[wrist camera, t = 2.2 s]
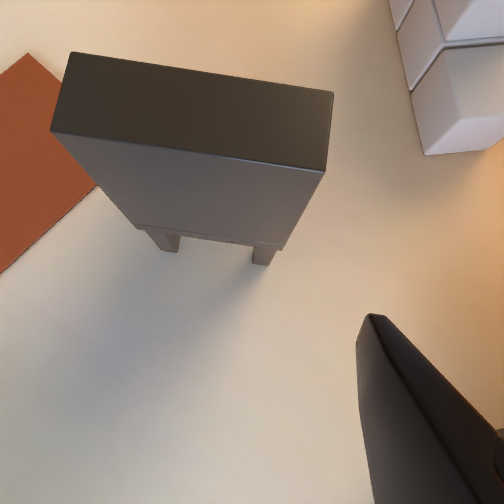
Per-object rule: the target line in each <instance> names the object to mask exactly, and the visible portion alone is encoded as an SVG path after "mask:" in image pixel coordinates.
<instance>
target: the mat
mask: <svg viewBox="0 0 504 504" xmlns="http://www.w3.org/2000/svg"><path fill="white" fill-rule="evenodd" d="M61 85H62V83H61V82H60V81H59V80H57V79H56V78H55V77H54V76H53V75H52V74H51V73H50V72H49V71H48V70H46V69H45V68H44V67H43V66H42V65H41V64H40V63H39V62H38V61H37V60H35V59H34V58H33V57H32V56H31V55H30V54H29V53H27V54H26V55H25V56H23V57H22V58H21V59H20V60H18V61H17V62H16V63H15V64H13V65H12V66H11V67H10V68H8V69H7V70H6V71H5V72H3V73H2V74H1V75H0V274H1V273H2V272H3V271H4V270H5V269H6V268H7V267H8V266H9V265H11V264H12V263H13V262H14V261H15V260H16V259H17V258H18V257H19V256H20V255H21V254H23V253H24V252H25V251H26V250H27V249H28V248H29V247H30V246H31V245H32V244H33V243H35V242H36V241H37V240H38V239H39V238H40V237H41V236H42V235H43V234H44V233H45V232H47V231H48V230H49V229H50V228H51V227H52V226H53V225H54V224H55V223H56V222H57V221H58V220H60V219H61V218H62V217H63V216H64V215H65V214H66V213H67V212H68V211H69V210H70V209H72V208H73V207H74V206H75V205H76V204H77V203H78V202H79V201H80V200H81V199H82V198H84V197H85V196H86V195H87V194H88V193H89V192H90V191H91V190H92V189H93V188H94V187H96V186H97V184H96V183H95V182H94V180H93V179H92V178H91V177H90V176H89V175H88V174H87V173H86V171H85V170H84V169H83V168H82V167H81V166H80V165H79V164H78V162H77V161H76V160H75V159H74V158H73V157H72V156H71V155H70V153H69V152H68V151H67V150H66V149H65V148H64V147H63V146H62V144H61V143H60V142H59V141H58V140H57V139H56V138H55V137H54V135H53V134H52V133H51V132H50V125H51V121H52V118H53V114H54V110H55V107H56V103H57V100H58V96H59V92H60V89H61Z"/></svg>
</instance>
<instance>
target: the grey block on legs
mask: <svg viewBox="0 0 504 504" xmlns="http://www.w3.org/2000/svg"><path fill="white" fill-rule="evenodd" d="M333 100H334V93H333V92H331V91H325V90H318V89H312V88H305V87H299V86H292V85H286V84H279V83H273V82H267V81H260V80H254V79H247V78H241V77H234V76H228V75H221V74H215V73H208V72H202V71H196V70H189V69H183V68H176V67H170V66H163V65H157V64H150V63H144V62H137V61H131V60H125V59H118V58H112V57H105V56H99V55H92V54H86V53H79V52H71V53H70V56H69V59H68V63H67V67H66V70H65V74H64V78H63V81H62V85H61V89H60V92H59V96H58V100H57V103H56V107H55V110H54V114H53V118H52V121H51V125H50V132H51V133H52V134H53V135H54V137H55V138H56V139H57V140H58V141H59V142H60V143H61V144H62V146H63V147H64V148H65V149H66V150H67V151H68V152H69V153H70V155H71V156H72V157H73V158H74V159H75V160H76V161H77V162H78V164H79V165H80V166H81V167H82V168H83V169H84V170H85V171H86V173H87V174H88V175H89V176H90V177H91V178H92V179H93V180H94V182H95V183H96V184H97V185H98V186H99V187H100V188H101V189H102V191H103V192H104V193H105V194H106V195H107V196H108V197H109V198H110V200H111V201H112V202H113V203H114V204H115V205H116V206H117V207H118V209H119V210H120V211H121V212H122V213H123V214H124V215H125V216H126V218H127V219H128V220H129V221H130V222H131V223H132V224H133V225H134V227H135V228H136V229H139V230H145V231H146V232H147V234H148V235H149V236H150V237H151V239H152V240H153V241H154V242H155V243H156V245H157V246H158V247H159V248H160V249H161V250H163V251H170V252H178V247H179V242H180V236H186V237H193V238H199V239H206V240H213V241H220V242H226V243H233V244H240V245H246V246H253V247H255V248H254V255H253V261H252V262H253V264H258V265H264V266H269V265H270V263H271V261H272V259H273V257H274V255H275V252H276V250H280V251H281V250H282V249H283V247H284V246H285V244H286V242H287V240H288V238H289V237H290V235H291V233H292V231H293V229H294V228H295V226H296V224H297V222H298V220H299V219H300V217H301V215H302V213H303V211H304V210H305V208H306V206H307V204H308V202H309V200H310V199H311V197H312V195H313V193H314V191H315V190H316V188H317V186H318V184H319V182H320V181H321V179H322V177H323V175H324V173H325V172H326V163H327V154H328V145H329V136H330V127H331V118H332V109H333Z"/></svg>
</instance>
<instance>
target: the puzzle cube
mask: <svg viewBox="0 0 504 504" xmlns="http://www.w3.org/2000/svg"><path fill="white" fill-rule="evenodd" d="M389 4H390V9H391V13H392V17H393V22H394V26H395V29H396V31H398V33H397V39H398V44H399V48H400V52H401V57H402V61H403V66H404V70H405V74H406V79H407V83H408V88H409V90H410V91H413V93H412V94H411V101H412V105H413V109H414V114H415V118H416V123H417V127H418V131H419V136H420V140H421V144H422V149H423V153H424V155H437V154H447V153H457V152H467V151H477V150H487V149H489V148H491V147H492V146H493V145H495V144H496V143H497V142H499V141H500V140H501V139H503V138H504V0H389Z"/></svg>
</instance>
